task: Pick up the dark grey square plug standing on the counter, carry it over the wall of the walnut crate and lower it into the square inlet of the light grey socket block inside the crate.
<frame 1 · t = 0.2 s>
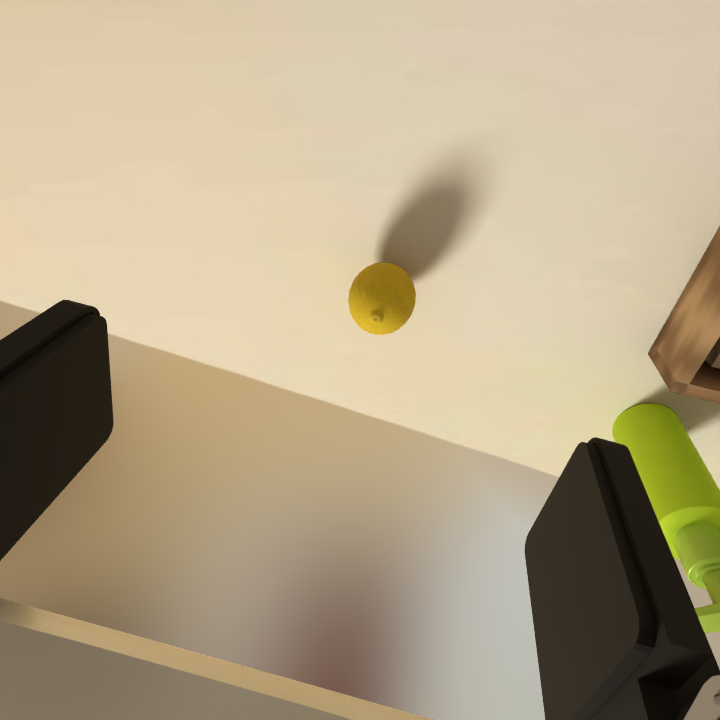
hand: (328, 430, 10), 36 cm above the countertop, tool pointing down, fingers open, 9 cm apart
soap dispenser: (639, 428, 52), on the countertop
lemon: (388, 279, 48), on the countertop
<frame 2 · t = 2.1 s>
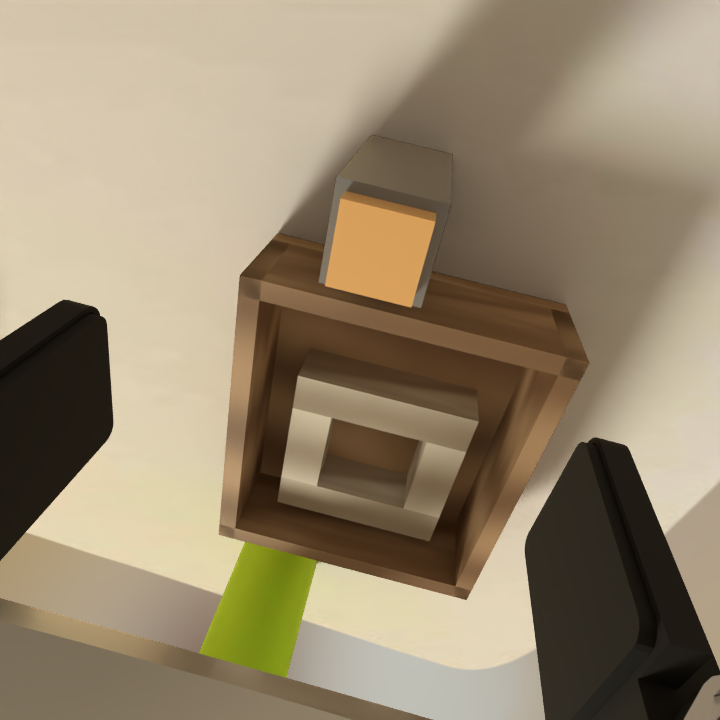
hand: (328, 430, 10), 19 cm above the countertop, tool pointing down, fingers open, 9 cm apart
crate: (384, 399, 34), on the countertop
plug: (402, 186, 27), on the countertop
soap dispenser: (278, 547, 43), on the countertop
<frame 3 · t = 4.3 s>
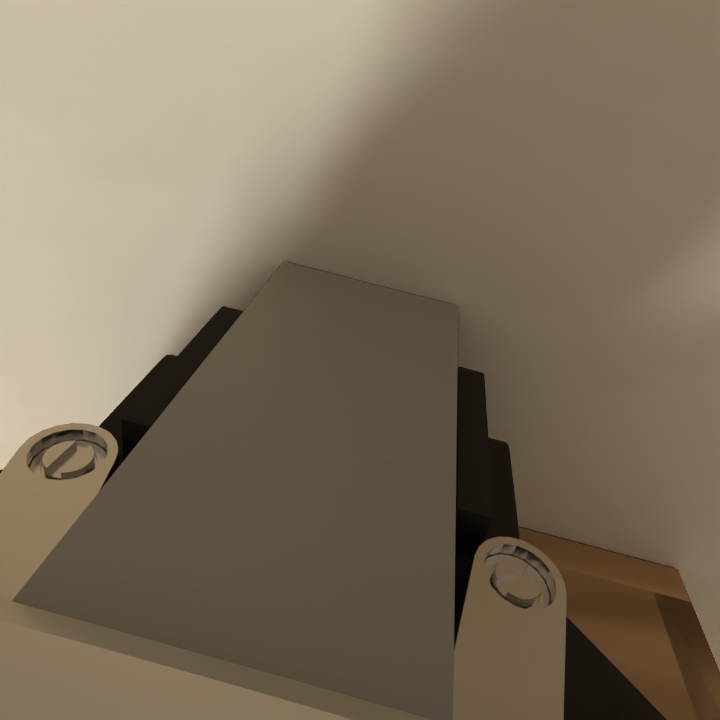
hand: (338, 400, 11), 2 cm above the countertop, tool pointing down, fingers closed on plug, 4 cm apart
crate: (339, 662, 20), on the countertop
plug: (353, 357, 13), on the countertop, touching gripper
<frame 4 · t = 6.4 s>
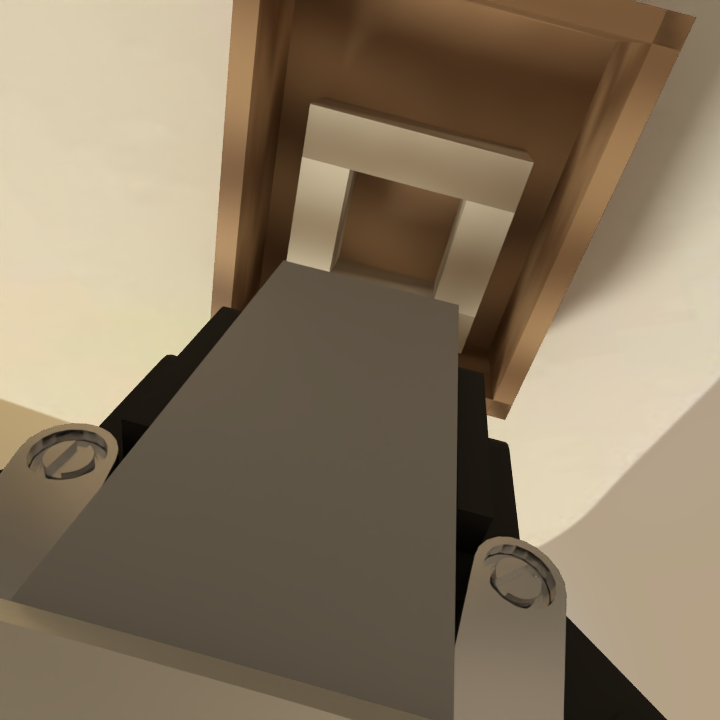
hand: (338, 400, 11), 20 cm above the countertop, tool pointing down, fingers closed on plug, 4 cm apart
crate: (410, 180, 28), on the countertop
plug: (353, 357, 13), point 18 cm above the countertop, touching gripper
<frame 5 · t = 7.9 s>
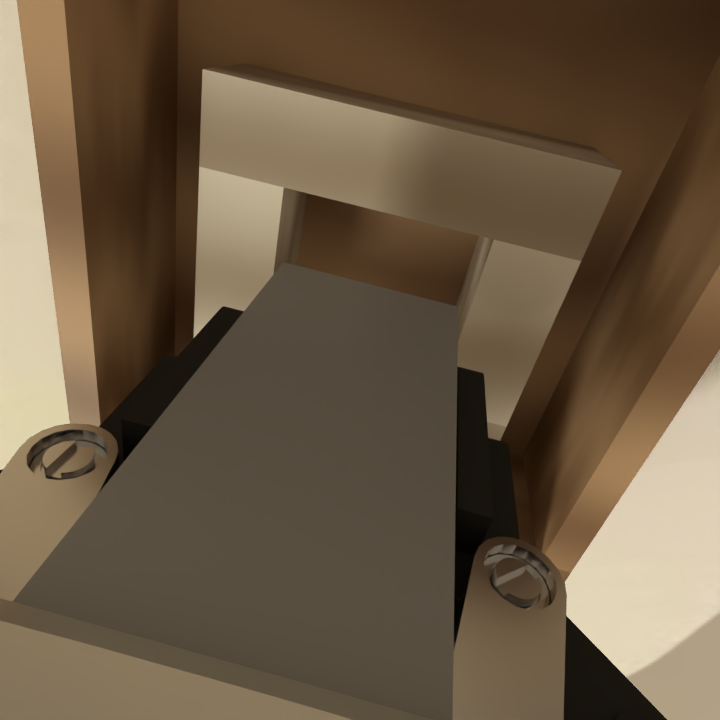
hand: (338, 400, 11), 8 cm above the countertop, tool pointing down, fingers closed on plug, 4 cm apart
crate: (396, 201, 17), on the countertop
plug: (353, 358, 13), point 7 cm above the countertop, touching gripper
when the fingers open (5 cm above the countertop, at t = 8.9 s): plug drops 2 cm, resting on crate.
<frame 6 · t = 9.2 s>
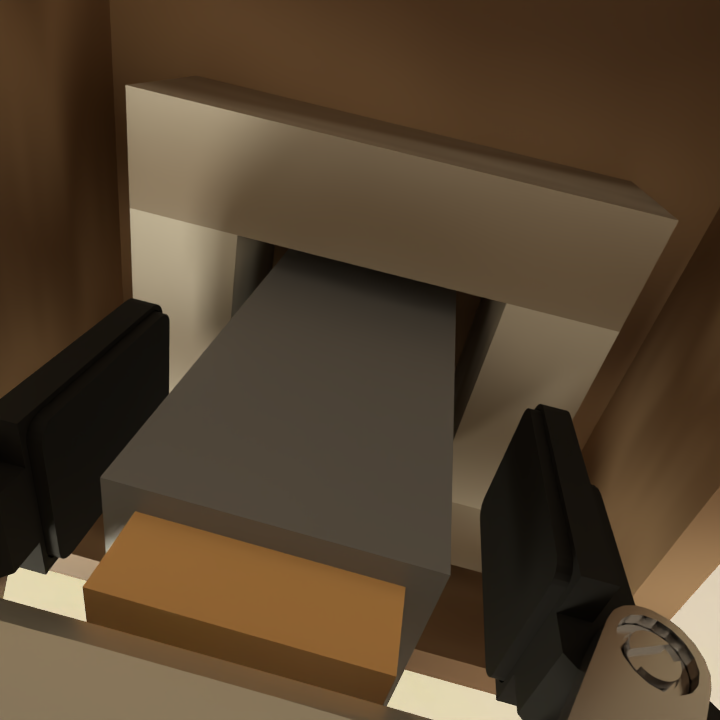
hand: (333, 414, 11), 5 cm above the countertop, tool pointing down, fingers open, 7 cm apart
crate: (386, 240, 14), on the countertop
plug: (363, 319, 15), point 1 cm above the countertop, touching crate
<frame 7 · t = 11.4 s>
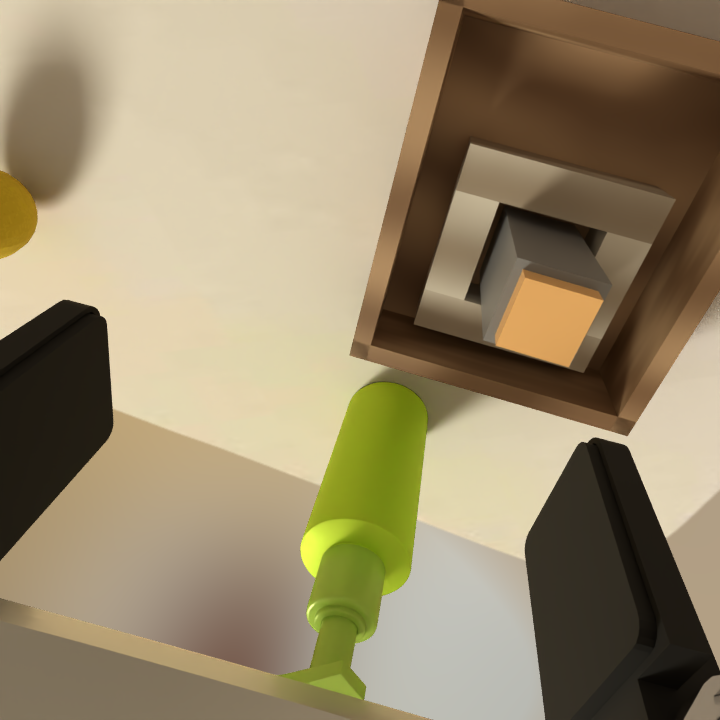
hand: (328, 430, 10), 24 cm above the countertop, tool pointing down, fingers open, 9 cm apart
crate: (538, 211, 30), on the countertop
plug: (525, 249, 30), point 1 cm above the countertop, touching crate
soap dispenser: (381, 416, 39), on the countertop
lemon: (27, 199, 36), on the countertop
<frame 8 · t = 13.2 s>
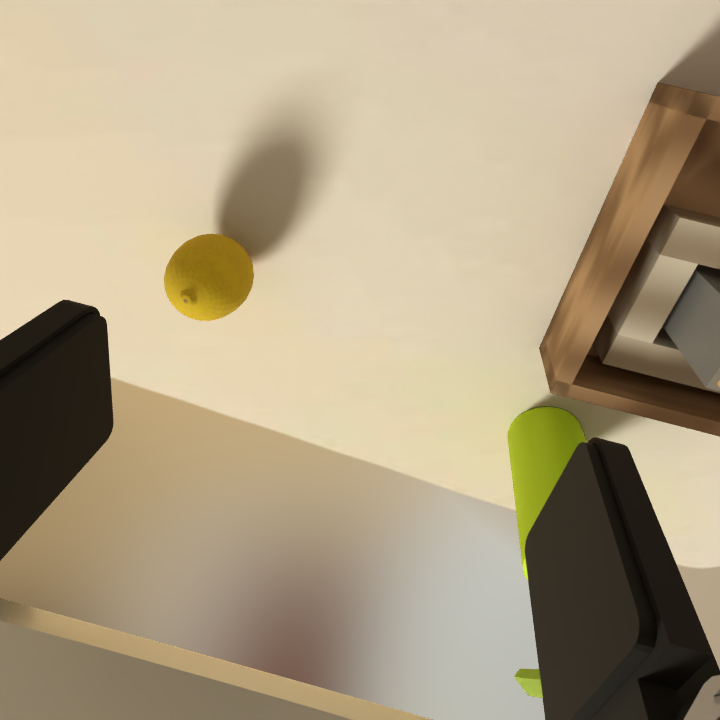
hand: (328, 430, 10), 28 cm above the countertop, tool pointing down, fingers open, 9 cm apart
crate: (710, 263, 35), on the countertop
plug: (699, 295, 35), point 1 cm above the countertop, touching crate
soap dispenser: (538, 436, 44), on the countertop
lemon: (233, 256, 40), on the countertop
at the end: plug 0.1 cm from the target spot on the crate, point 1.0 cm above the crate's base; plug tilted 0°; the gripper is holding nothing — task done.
